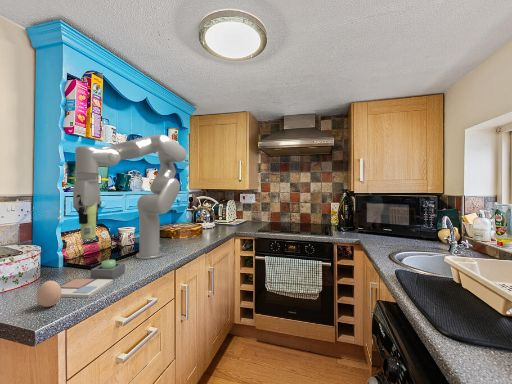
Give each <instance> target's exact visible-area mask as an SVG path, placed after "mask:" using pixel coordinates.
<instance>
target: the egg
mask: <svg viewBox="0 0 512 384" xmlns="http://www.w3.org/2000/svg"><path fill="white" fill-rule="evenodd" d="M60 286H61V285H60V284H59V283H58V282H56V281H54V280H47V281H45V282H44V283H42V284H41V286H40V287H39V289H38V291H37V292H36V302H37V303H38V304H39V305H40V306H41V307H44V308H50V307H52V306H54V305H55V304H57V303H58V302H59V301H60V300H61V298H62V297H61V293H62V291H61V287H60Z"/></svg>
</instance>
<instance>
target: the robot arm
mask: <svg viewBox="0 0 512 384" xmlns="http://www.w3.org/2000/svg"><path fill="white" fill-rule="evenodd" d="M154 153H157V157H158V161H159V163H160V168H159V170H158V172H157V174H156V175H155V177H154V178H153V180H152V182H151V184H150V187H149V188H150V192H151V193H145V194H143V195H141V196H140V197H139V198H138V199H137V206H136V207H137V210H138V217H139V218H138V220H139V225H138V226H139V227H138V229H139V230H138V233H139V234H138V236H139V239H138V240H139V241H138V243H139V244H138V245H139V246H138V247H139V248H138V249H139V250H138V251H139V252H137V253H136V254H135V258H137V259H139V260H151V259H152V260H153V259H157V258H160V257H162V256H163V251H162V250H160V248H161V247H162V244H161V243H160V237H161V236H160V235H161V234H160V229H161V228H160V227H161V226H160V225H161V224H160V217H159V215H163V214H166V213H168V212H169V211H170V209H171V208H172V206H173V204H174V203H175V200H176V199H177V197H178V194H179V192H180V190H181V185H180V181H179V180H178V179H177V178H175V177H176V168H175V164H174V163H182V162H184V161H185V160H186V158H187V151H186V149H185V148H184V147H183V146H182V145H181V144H179V143H178V142H177V141H175V140H174V139H173V138H171V137H170V136H168V135H165V134H153V135H147V136H143V137H139V138H136V139H135V138H134V139H131V140H127V141H126V140H125V141H123V142H120V143H115V144H111V145H106V146H102V147H95V146H94V147H93V146H84V145H81V146H77V147H75V151H74V156H75V181H74V185H73V189H72V190H73V193H72V208H74V210H75V211H76V213H77V215H78V224H79V225H81V224H87V223H88V214H86V212H87V206H92V205H94V204H95V203H96V202H97V208H96V222H98V221H99V213H98V212H99V209H100V207H101V205H102V201H101V190H100V189H101V188H100V183H99V180H100V179H99V167H114V166H116V165H118V163H119V162H120V161H123V160H125V161H126V160H132V159H133V160H134V159H138V158H141V157H144V156H147V155H151V154H154ZM81 204H83V206H81ZM82 208H84V209H82Z"/></svg>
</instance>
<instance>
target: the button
mask: <svg viewBox="0 0 512 384" xmlns="http://www.w3.org/2000/svg"><path fill="white" fill-rule="evenodd" d="M116 263H117V262H116V259H105V260H103V261H101V265H102V269H113V268H114V267H116Z"/></svg>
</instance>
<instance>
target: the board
mask: <svg viewBox="0 0 512 384" xmlns="http://www.w3.org/2000/svg"><path fill="white" fill-rule="evenodd" d="M113 282H114V280H112V279H91V278H85V277H82V278H81V277H75V278H73V279H71V280H69V281H67V282H65V283H63V284H60V285H59V286H60V287H61V291H62V293H61V297H60V298H76V299H77V298H78V299H79V298H80V299H83V298H84V299H88V298H89V299H90V298H91V297H92V296H95V293H96V294H97V293H98V292H100V291H102V290H104V289H105V288H107V287H108V286H109V285H111V284H113Z"/></svg>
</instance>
